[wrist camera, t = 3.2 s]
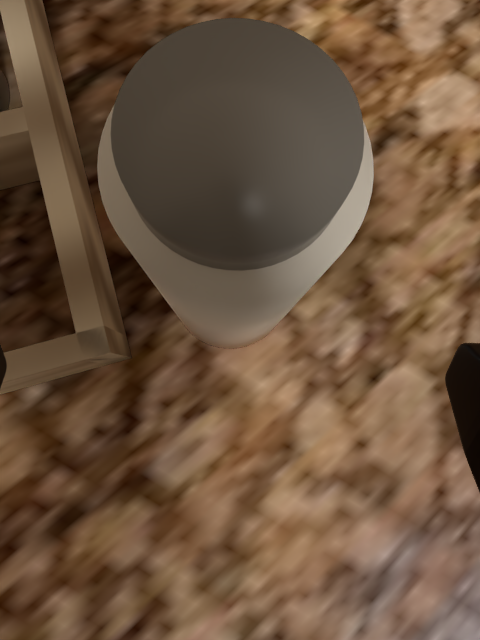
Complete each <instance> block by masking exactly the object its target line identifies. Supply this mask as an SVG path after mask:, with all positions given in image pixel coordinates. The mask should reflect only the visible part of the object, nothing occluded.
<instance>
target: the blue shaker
mask: <svg viewBox="0 0 480 640" xmlns="http://www.w3.org/2000/svg"><path fill="white" fill-rule="evenodd" d="M9 100H10V92H9V86H8V83H7V80H6V78H5V76H4V74H3V73H2V71H1V70H0V112H2V111H6V110H8V107H9Z"/></svg>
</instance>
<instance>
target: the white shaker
mask: <svg viewBox="0 0 480 640" xmlns="http://www.w3.org/2000/svg"><path fill="white" fill-rule="evenodd" d="M97 172H98V185H99V189H100V194H101V198H102V202H103V205H104V208H105V211H106V213H107V216H108V218H109V220H110V222H111V224H112V226H113V228H114V230H115V231H116V233H117V235H118V236H119V238H120V239H121V240H122V242H123V243H124V244H125V246H126V247H127V248H128V250H129V251H130V253H131V254H132V255H133V257H134V258H135V259H136V261H137V262H138V263H139V265H140V266H141V267H142V269H143V270H144V271H145V273H146V274H147V276H148V277H149V278H150V280H151V281H152V282H153V284H154V285H155V286H156V288H157V289H158V290H159V292H160V293H161V295H162V296H163V297H164V299H165V300H166V301H167V303H168V304H169V305H170V307H171V308H172V309H173V311H174V312H175V313H176V315H177V316H178V318H179V319H180V320H181V322H182V323H183V324H184V326H185V327H186V328H187V329H188V331H189V332H190V333H191V334H192V335H194V336H195V337H196V338H197V339H199V340H201V341H202V342H204V343H206V344H209V345H211V346H215V347H218V348H225V349H235V348H242V347H246V346H249V345H251V344H254V343H256V342H258V341H259V340H261V339H262V338H264V337H265V336H267V335H268V334H269V333H270V332H271V331H272V330H273V329H274V327H275V326H276V325H277V324H278V323H279V322H280V321H281V320H282V319H283V318H284V317H285V315H286V314H287V313H288V312H289V311H290V310H291V309H292V308H293V307H294V306H295V304H296V303H297V302H298V301H299V300H300V299H301V298H302V297H303V296H304V295H305V294H306V292H307V291H308V290H309V289H310V288H311V287H312V286H313V285H314V284H315V283H316V281H317V280H318V279H319V278H320V277H321V276H322V275H323V274H324V273H325V272H326V271H327V269H328V268H329V267H330V266H331V265H332V264H333V263H334V262H335V261H336V260H337V258H338V257H339V256H340V255H341V254H342V253H343V252H344V250H345V249H346V248H347V247H348V245H349V244H350V243H351V241H352V240H353V238H354V237H355V235H356V233H357V232H358V230H359V228H360V226H361V225H362V222H363V220H364V217H365V215H366V212H367V210H368V206H369V202H370V198H371V194H372V188H373V178H374V166H373V154H372V148H371V143H370V139H369V136H368V133H367V130H366V126H365V124H364V122H363V120H362V114H361V110H360V107H359V104H358V100H357V97H356V95H355V93H354V91H353V89H352V87H351V85H350V83H349V81H348V80H347V78H346V77H345V75H344V73H343V72H342V71H341V69H340V68H339V67H338V66H337V64H336V63H335V62H334V61H333V60H332V59H331V58H330V57H329V56H328V55H327V54H326V53H325V52H324V51H323V50H322V49H321V48H319V47H318V46H317V45H315V44H314V43H312V42H311V41H310V40H308V39H307V38H305V37H303V36H301V35H299V34H298V33H296V32H294V31H292V30H289V29H287V28H284V27H282V26H279V25H276V24H272V23H269V22H265V21H260V20H253V19H243V18H227V19H216V20H211V21H205V22H201V23H198V24H194V25H191V26H188V27H185V28H183V29H181V30H179V31H177V32H175V33H173V34H171V35H169V36H168V37H166V38H164V39H163V40H161V41H160V42H158V43H157V44H156V45H154V46H153V47H152V48H151V49H150V50H148V51H147V52H146V53H145V54H144V55H143V56H142V57H141V58H140V60H139V61H138V62H137V63H136V64H135V65H134V67H133V68H132V70H131V71H130V72H129V74H128V75H127V77H126V79H125V81H124V83H123V84H122V86H121V88H120V90H119V93H118V96H117V99H116V102H115V104H114V106H113V108H112V110H111V112H110V114H109V116H108V118H107V120H106V123H105V126H104V129H103V131H102V135H101V140H100V144H99V149H98V162H97Z"/></svg>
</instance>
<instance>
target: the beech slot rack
mask: <svg viewBox="0 0 480 640" xmlns="http://www.w3.org/2000/svg"><path fill="white" fill-rule="evenodd" d="M0 12H1V16H2V20H3V25H4V29H5V33H6V37H7V42H8V46H9V50H10V54H11V59H12V63H13V67H14V71H15V76H16V80H17V84H18V88H19V93H20V97H21V101H22V105H23V107H19V108H15V109H11V110H6V111H2V112H0V190H2V189H6V188H10V187H14V186H19V185H23V184H27V183H31V182H35V181H39V180H40V182H41V186H42V191H43V195H44V199H45V203H46V208H47V212H48V216H49V220H50V225H51V229H52V233H53V238H54V242H55V246H56V250H57V255H58V259H59V263H60V267H61V272H62V276H63V280H64V284H65V289H66V293H67V297H68V301H69V306H70V310H71V314H72V318H73V323H74V327H75V331H76V333H74V334H71V335H67V336H63V337H60V338H56V339H52V340H49V341H45V342H41V343H37V344H34V345H30V346H26V347H23V348H19V349H15V350H12V351H8V352H4V356H5V358H6V362H7V369H6V374H5V377H4V380H3V383H2V386H1V389H0V395H1V394H4V393H8V392H11V391H15V390H19V389H22V388H26V387H29V386H33V385H37V384H40V383H44V382H47V381H51V380H54V379H58V378H62V377H65V376H69V375H72V374H76V373H80V372H83V371H87V370H90V369H94V368H98V367H101V366H105V365H108V364H112V363H116V362H119V361H123V360H126V359H130V358H132V356H131V352H130V348H129V344H128V340H127V336H126V332H125V328H124V325H123V321H122V317H121V313H120V309H119V305H118V301H117V297H116V293H115V289H114V285H113V281H112V277H111V273H110V269H109V265H108V261H107V257H106V253H105V249H104V245H103V241H102V237H101V233H100V229H99V225H98V221H97V217H96V213H95V209H94V205H93V201H92V197H91V193H90V189H89V185H88V181H87V177H86V173H85V169H84V165H83V161H82V157H81V153H80V149H79V145H78V141H77V137H76V133H75V129H74V125H73V121H72V117H71V113H70V109H69V105H68V101H67V97H66V93H65V89H64V85H63V81H62V77H61V73H60V69H59V65H58V61H57V57H56V53H55V49H54V45H53V41H52V37H51V33H50V29H49V25H48V21H47V17H46V13H45V9H44V5H43V1H42V0H0Z"/></svg>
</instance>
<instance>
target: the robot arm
mask: <svg viewBox="0 0 480 640" xmlns="http://www.w3.org/2000/svg"><path fill="white" fill-rule="evenodd" d="M6 369H7V362H6V358H5V356H4V353H3V350H2V348H1V345H0V389H1V386H2V383H3V380H4V377H5V374H6ZM445 382H446V387H447V391H448V395H449V399H450V402H451V406H452V410H453V413H454V417H455V421H456V424H457V428H458V432H459V436H460V439H461V443H462V446H463V449H464V453H465V455H466V458H467V461H468V464H469V466H470V469H471V471H472V474H473V476H474V479H475V482H476V484H477V487H478V489H479V492H480V343H463V344H461V345H460V346H459V347H458V349H457V351H456V353H455V355H454V357H453V359H452V362H451V364H450V366H449V368H448V370H447V373H446V377H445Z"/></svg>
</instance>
